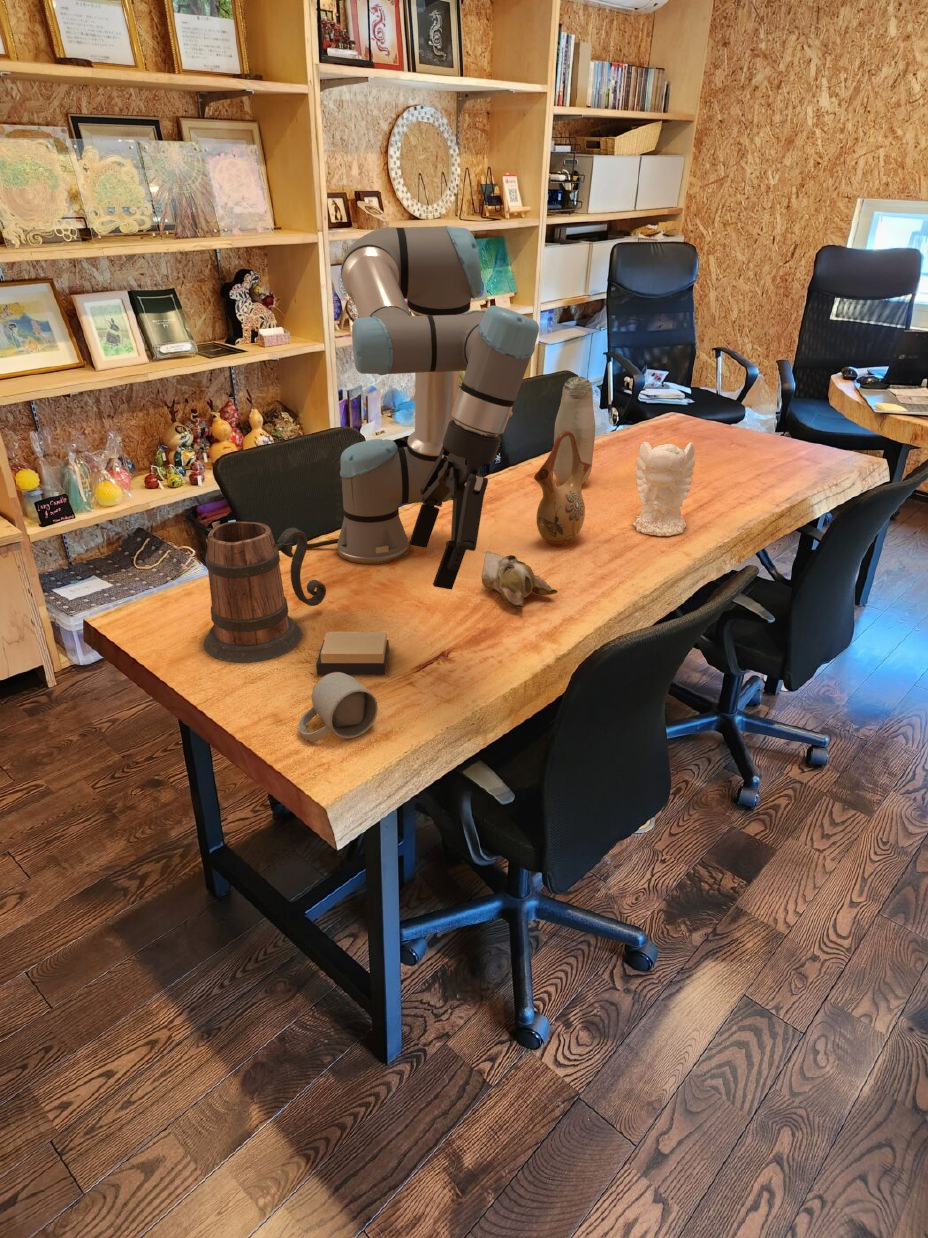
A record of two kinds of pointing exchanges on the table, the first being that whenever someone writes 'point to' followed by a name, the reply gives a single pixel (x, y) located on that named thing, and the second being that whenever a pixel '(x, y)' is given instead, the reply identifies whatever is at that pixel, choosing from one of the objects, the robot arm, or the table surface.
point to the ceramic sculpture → (512, 579)
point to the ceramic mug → (340, 707)
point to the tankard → (253, 592)
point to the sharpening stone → (354, 653)
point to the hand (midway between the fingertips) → (429, 565)
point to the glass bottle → (575, 426)
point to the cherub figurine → (663, 487)
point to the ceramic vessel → (561, 498)
